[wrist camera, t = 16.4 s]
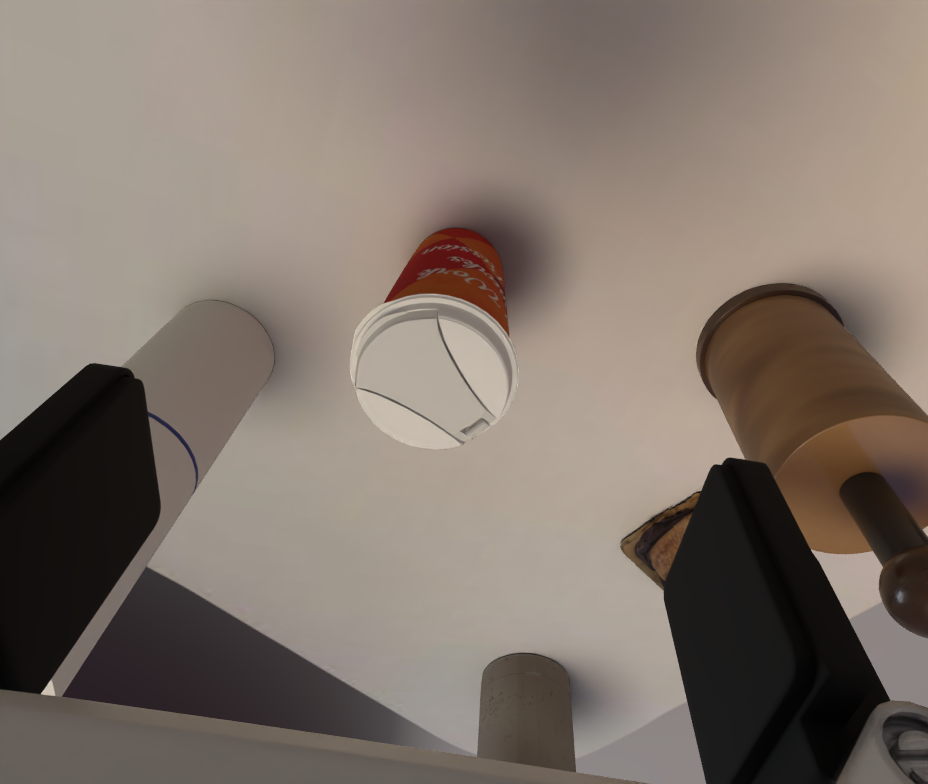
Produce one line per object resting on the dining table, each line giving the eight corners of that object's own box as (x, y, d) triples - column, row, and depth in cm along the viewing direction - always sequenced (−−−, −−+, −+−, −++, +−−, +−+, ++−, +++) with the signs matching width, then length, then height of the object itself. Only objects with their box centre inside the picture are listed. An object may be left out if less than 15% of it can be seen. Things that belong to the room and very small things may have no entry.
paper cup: (545, 276, 41) (555, 395, 29) (455, 350, 44) (430, 485, 32) (457, 179, 38) (428, 266, 26) (367, 265, 41) (305, 377, 29)
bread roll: (674, 597, 54) (684, 635, 51) (611, 537, 51) (617, 573, 48) (797, 536, 50) (816, 573, 47) (736, 466, 47) (751, 501, 44)
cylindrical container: (288, 329, 44) (69, 649, 23) (256, 410, 48) (41, 752, 26) (183, 281, 43) (-152, 572, 22) (159, 367, 46) (-151, 691, 25)
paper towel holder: (721, 273, 40) (892, 520, 21) (864, 294, 40) (1158, 559, 22) (679, 395, 44) (790, 686, 26) (807, 414, 45) (1010, 718, 26)
